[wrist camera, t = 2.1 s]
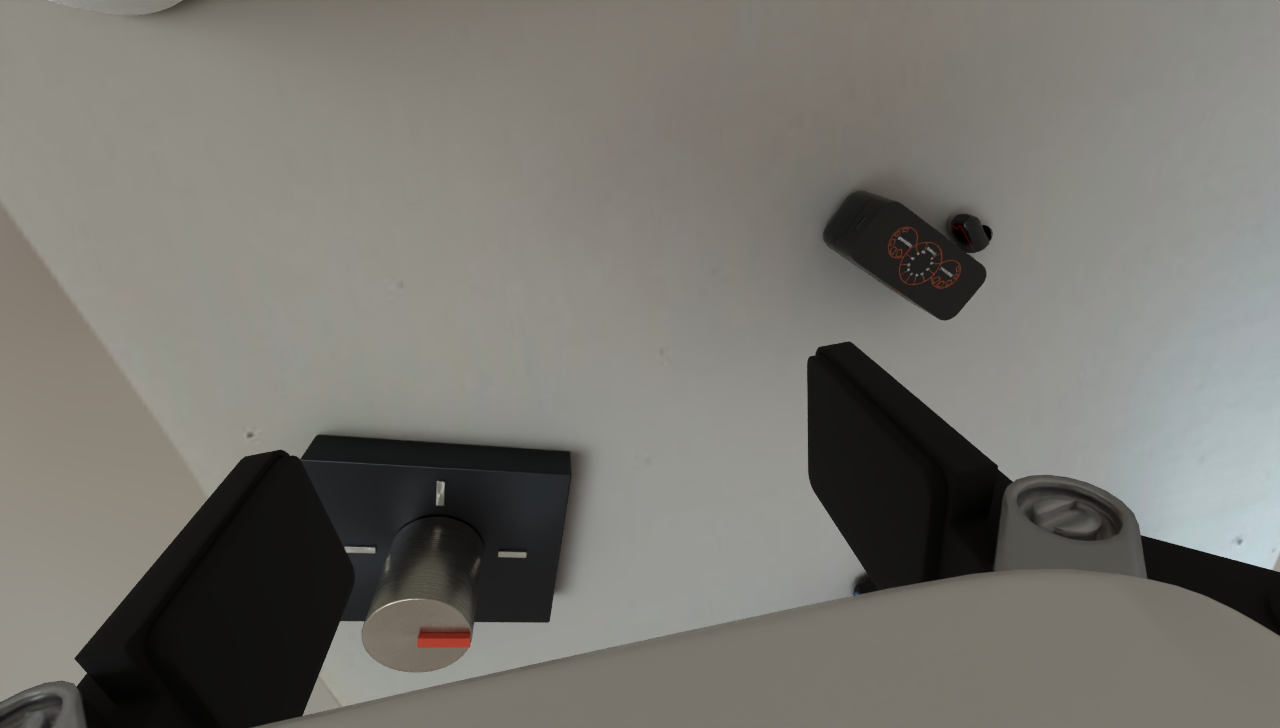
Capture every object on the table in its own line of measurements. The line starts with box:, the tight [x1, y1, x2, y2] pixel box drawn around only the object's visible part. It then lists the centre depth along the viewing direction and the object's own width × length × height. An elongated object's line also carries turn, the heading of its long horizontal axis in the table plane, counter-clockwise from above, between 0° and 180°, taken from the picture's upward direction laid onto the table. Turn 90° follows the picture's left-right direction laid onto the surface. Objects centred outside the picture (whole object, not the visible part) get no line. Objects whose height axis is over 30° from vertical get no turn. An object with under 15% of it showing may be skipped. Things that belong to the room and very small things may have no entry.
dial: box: [362, 517, 484, 672], centre depth 26 cm, size 4×4×5 cm
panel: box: [300, 435, 571, 622], centre depth 29 cm, size 12×10×2 cm
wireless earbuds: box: [823, 191, 993, 320], centre depth 25 cm, size 5×7×3 cm, turn 58°
